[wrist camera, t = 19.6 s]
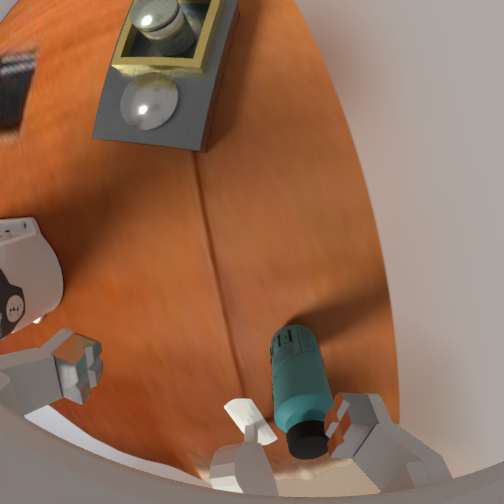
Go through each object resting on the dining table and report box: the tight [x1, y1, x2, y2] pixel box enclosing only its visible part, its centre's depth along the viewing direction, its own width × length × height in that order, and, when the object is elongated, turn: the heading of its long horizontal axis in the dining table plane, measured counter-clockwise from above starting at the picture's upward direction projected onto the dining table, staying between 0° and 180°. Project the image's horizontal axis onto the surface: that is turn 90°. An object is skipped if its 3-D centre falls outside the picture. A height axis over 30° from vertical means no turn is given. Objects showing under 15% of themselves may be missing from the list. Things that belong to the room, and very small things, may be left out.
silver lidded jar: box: [130, 0, 195, 56], centre depth 25 cm, size 5×7×9 cm
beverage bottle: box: [270, 325, 335, 459], centre depth 31 cm, size 6×7×20 cm
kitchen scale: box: [92, 0, 240, 153], centre depth 29 cm, size 20×14×6 cm
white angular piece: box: [210, 399, 279, 496], centre depth 37 cm, size 16×5×18 cm, turn 24°
